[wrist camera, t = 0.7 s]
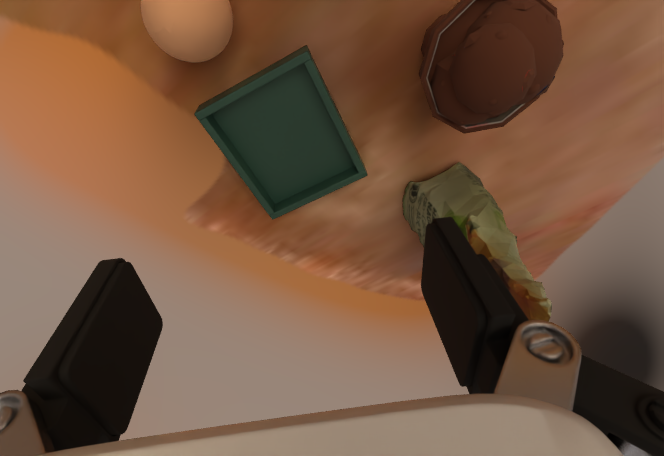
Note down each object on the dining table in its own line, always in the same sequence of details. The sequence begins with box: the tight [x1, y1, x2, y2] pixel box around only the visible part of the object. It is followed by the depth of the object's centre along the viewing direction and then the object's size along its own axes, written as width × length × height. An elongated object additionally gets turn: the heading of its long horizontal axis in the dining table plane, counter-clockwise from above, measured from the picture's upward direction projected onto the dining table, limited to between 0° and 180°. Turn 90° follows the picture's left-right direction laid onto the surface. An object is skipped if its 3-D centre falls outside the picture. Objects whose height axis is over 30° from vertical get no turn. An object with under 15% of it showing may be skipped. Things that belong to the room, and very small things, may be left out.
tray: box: [194, 45, 367, 220], centre depth 39 cm, size 15×13×3 cm
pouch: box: [403, 162, 552, 322], centre depth 37 cm, size 11×12×25 cm
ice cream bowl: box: [419, 0, 564, 133], centre depth 30 cm, size 11×11×15 cm
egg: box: [140, 0, 233, 62], centre depth 29 cm, size 7×7×9 cm
